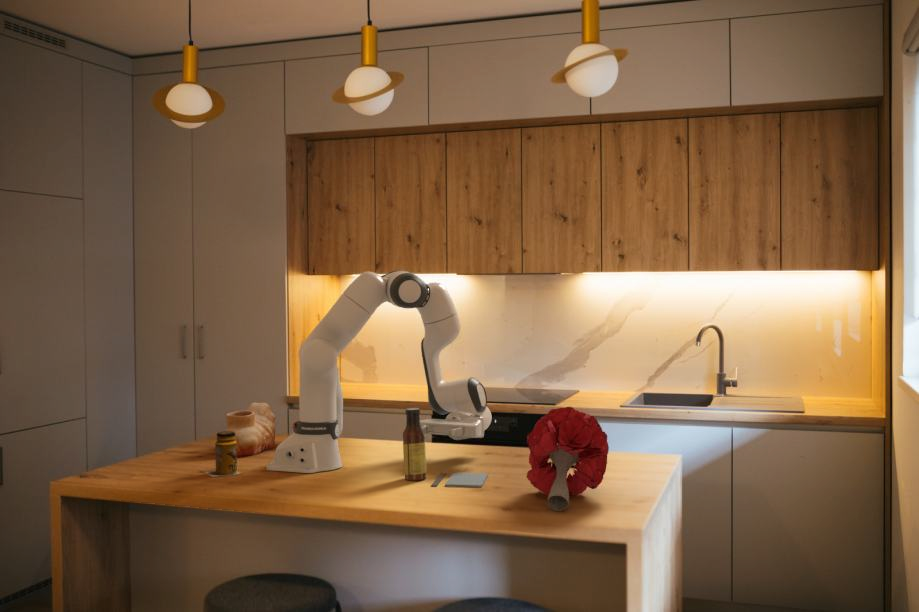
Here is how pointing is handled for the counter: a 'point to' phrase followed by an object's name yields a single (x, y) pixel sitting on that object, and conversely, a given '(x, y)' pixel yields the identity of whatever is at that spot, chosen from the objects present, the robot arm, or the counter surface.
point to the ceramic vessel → (252, 429)
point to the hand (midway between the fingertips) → (436, 431)
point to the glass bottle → (339, 404)
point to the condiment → (225, 455)
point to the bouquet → (566, 455)
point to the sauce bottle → (414, 447)
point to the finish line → (438, 479)
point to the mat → (467, 480)
